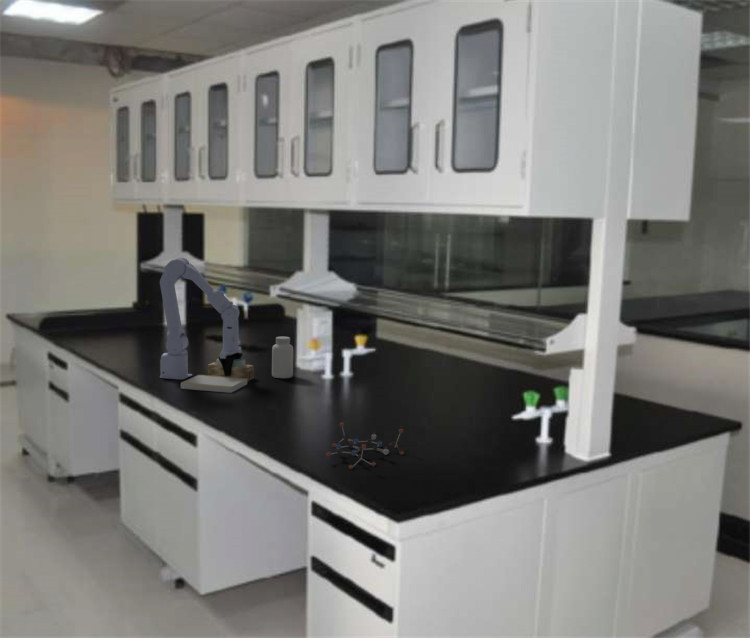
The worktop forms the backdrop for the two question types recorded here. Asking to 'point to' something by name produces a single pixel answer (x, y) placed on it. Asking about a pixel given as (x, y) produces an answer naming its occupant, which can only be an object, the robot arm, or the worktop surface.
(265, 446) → the worktop surface
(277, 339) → the pill bottle
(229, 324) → the robot arm
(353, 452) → the molecular model
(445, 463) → the worktop surface
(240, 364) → the block
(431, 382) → the worktop surface
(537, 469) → the worktop surface
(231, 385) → the dock
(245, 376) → the tan notched block
